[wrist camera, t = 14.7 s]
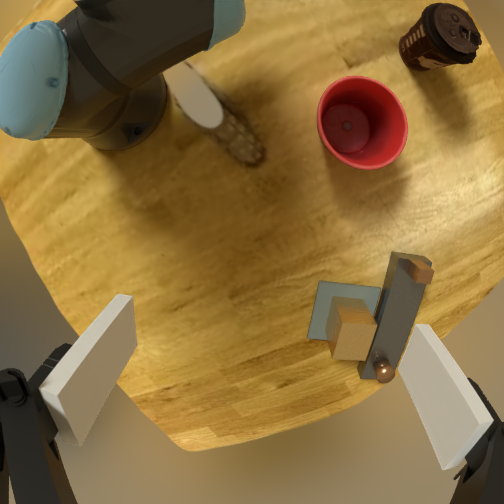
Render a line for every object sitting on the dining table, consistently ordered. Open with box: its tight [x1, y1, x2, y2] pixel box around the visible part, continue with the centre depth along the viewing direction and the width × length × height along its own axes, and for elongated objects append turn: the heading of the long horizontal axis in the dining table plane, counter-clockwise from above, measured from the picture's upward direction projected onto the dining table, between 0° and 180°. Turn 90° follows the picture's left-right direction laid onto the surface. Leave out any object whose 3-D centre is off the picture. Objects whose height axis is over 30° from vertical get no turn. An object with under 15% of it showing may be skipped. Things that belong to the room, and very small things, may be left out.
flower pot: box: [317, 76, 408, 170], centre depth 35 cm, size 11×11×10 cm
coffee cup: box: [399, 3, 482, 71], centre depth 29 cm, size 9×8×13 cm
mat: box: [307, 281, 381, 340], centre depth 48 cm, size 10×10×1 cm
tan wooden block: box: [325, 296, 377, 361], centre depth 44 cm, size 6×5×8 cm
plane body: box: [357, 252, 434, 383], centre depth 45 cm, size 22×6×7 cm, turn 174°
